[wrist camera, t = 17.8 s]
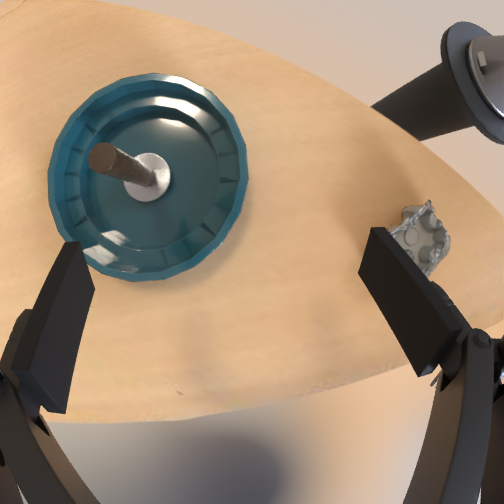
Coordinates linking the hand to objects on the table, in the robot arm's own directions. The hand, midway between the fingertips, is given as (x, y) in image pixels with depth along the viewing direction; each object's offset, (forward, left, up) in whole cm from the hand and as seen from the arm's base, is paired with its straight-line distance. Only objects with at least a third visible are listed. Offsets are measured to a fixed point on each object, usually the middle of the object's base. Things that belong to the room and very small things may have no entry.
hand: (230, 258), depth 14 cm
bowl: (+10, -1, -20) cm, 22 cm away
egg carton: (-19, -10, -20) cm, 29 cm away
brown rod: (+10, -1, -19) cm, 21 cm away
